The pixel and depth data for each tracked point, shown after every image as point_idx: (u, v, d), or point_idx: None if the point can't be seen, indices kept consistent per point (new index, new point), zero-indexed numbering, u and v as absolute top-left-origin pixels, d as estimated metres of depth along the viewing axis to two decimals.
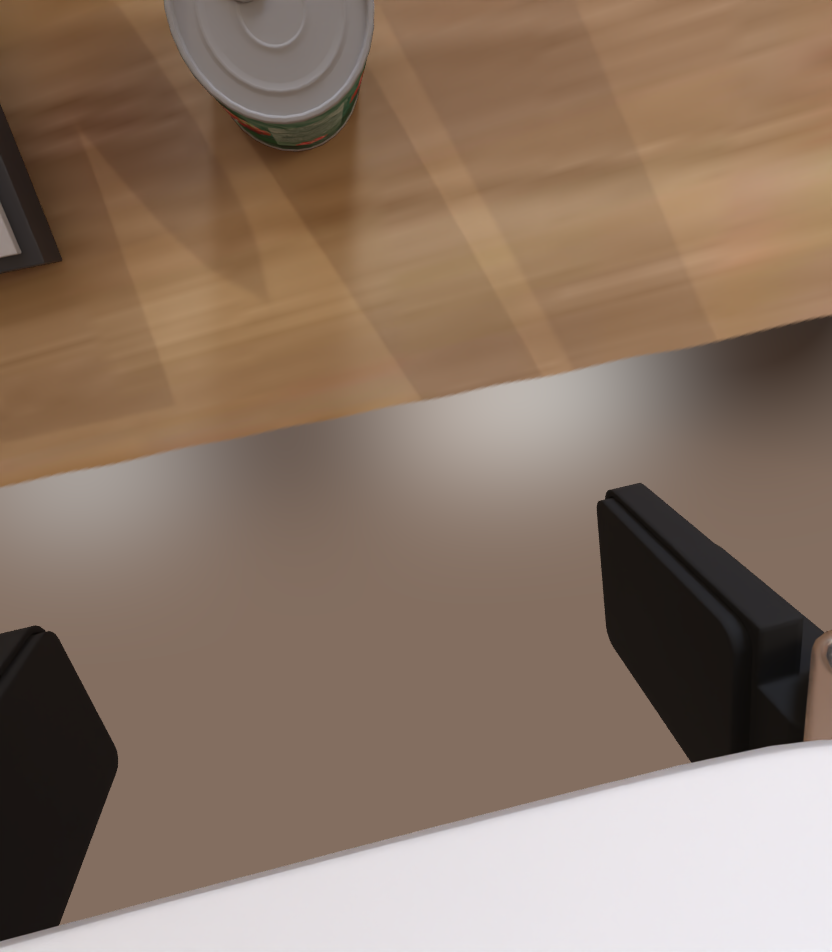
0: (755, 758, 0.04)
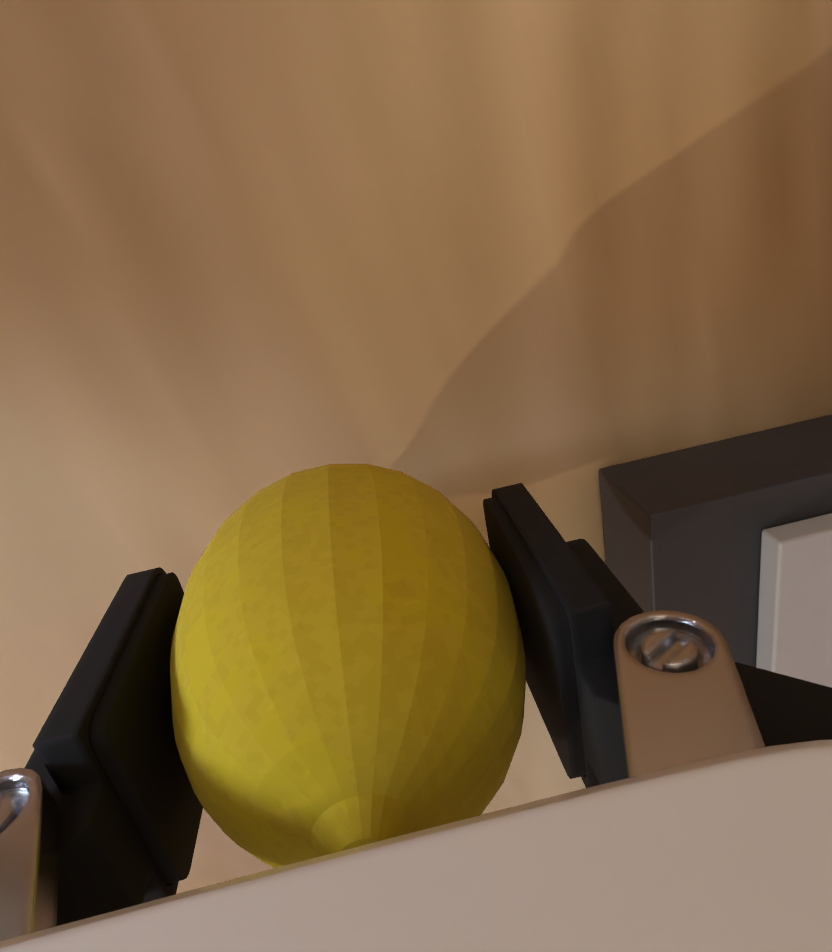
0: (754, 758, 0.04)
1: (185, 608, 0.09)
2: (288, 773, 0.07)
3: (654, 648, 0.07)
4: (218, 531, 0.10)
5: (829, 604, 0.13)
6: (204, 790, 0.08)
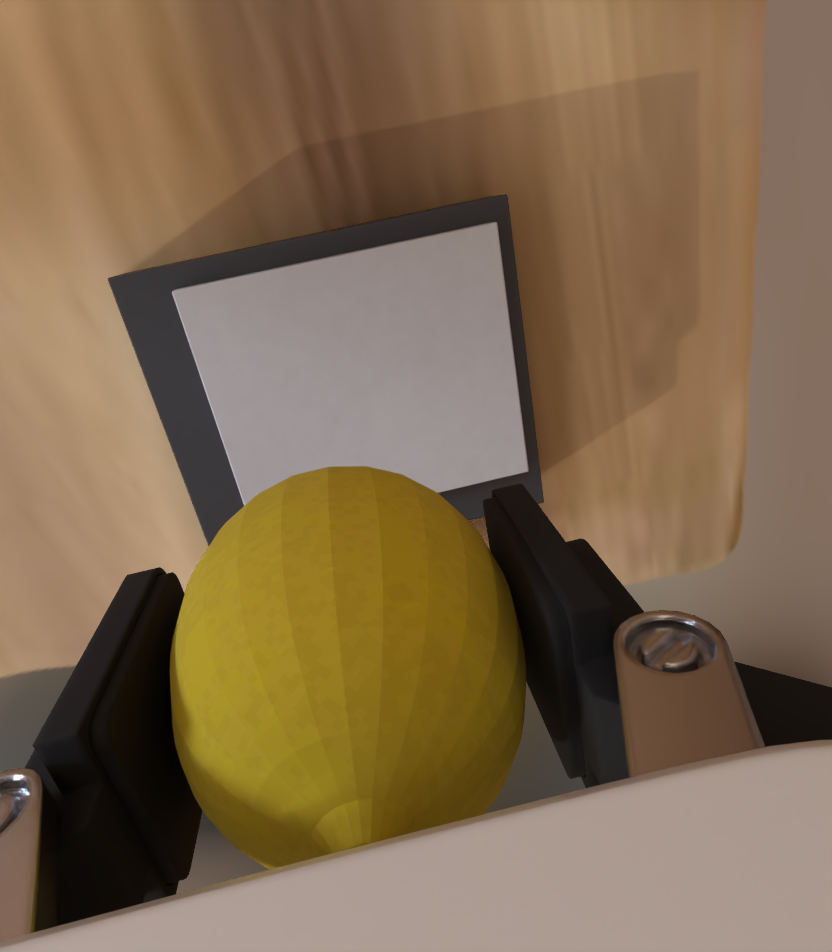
0: (755, 758, 0.04)
1: (185, 611, 0.09)
2: (287, 777, 0.07)
3: (654, 648, 0.07)
4: (218, 533, 0.10)
5: (215, 331, 0.25)
6: (204, 794, 0.08)
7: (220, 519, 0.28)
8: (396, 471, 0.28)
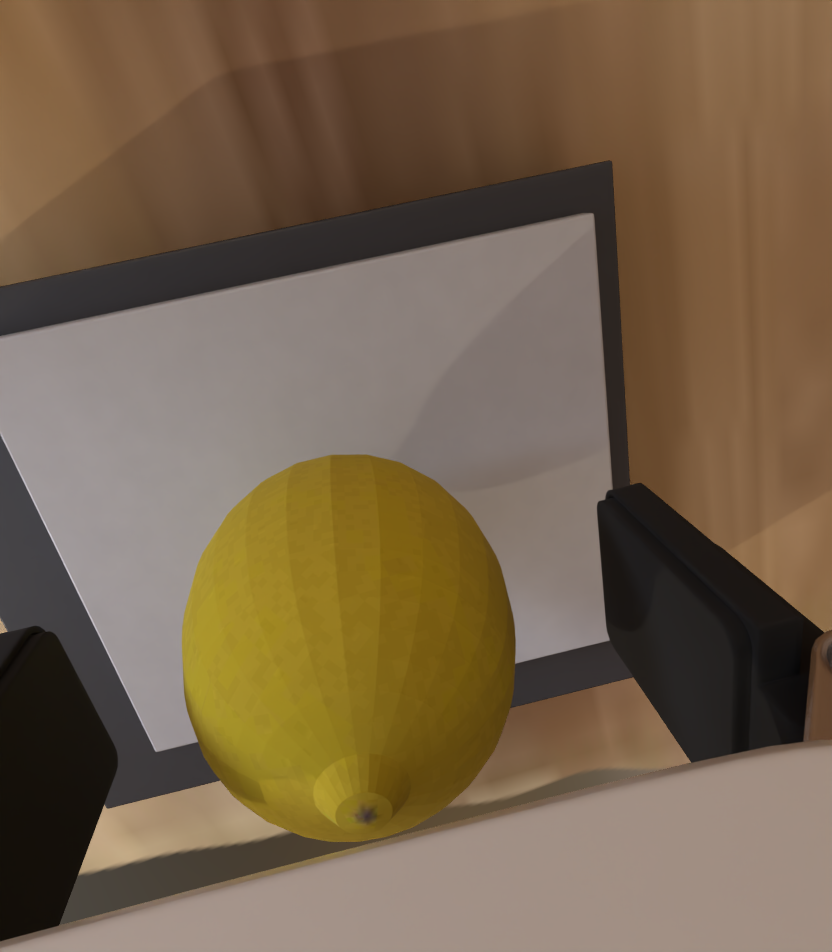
0: (754, 758, 0.04)
1: (196, 586, 0.09)
2: (292, 733, 0.07)
3: None
4: (226, 516, 0.10)
5: (54, 420, 0.13)
6: (214, 752, 0.08)
7: None
8: None
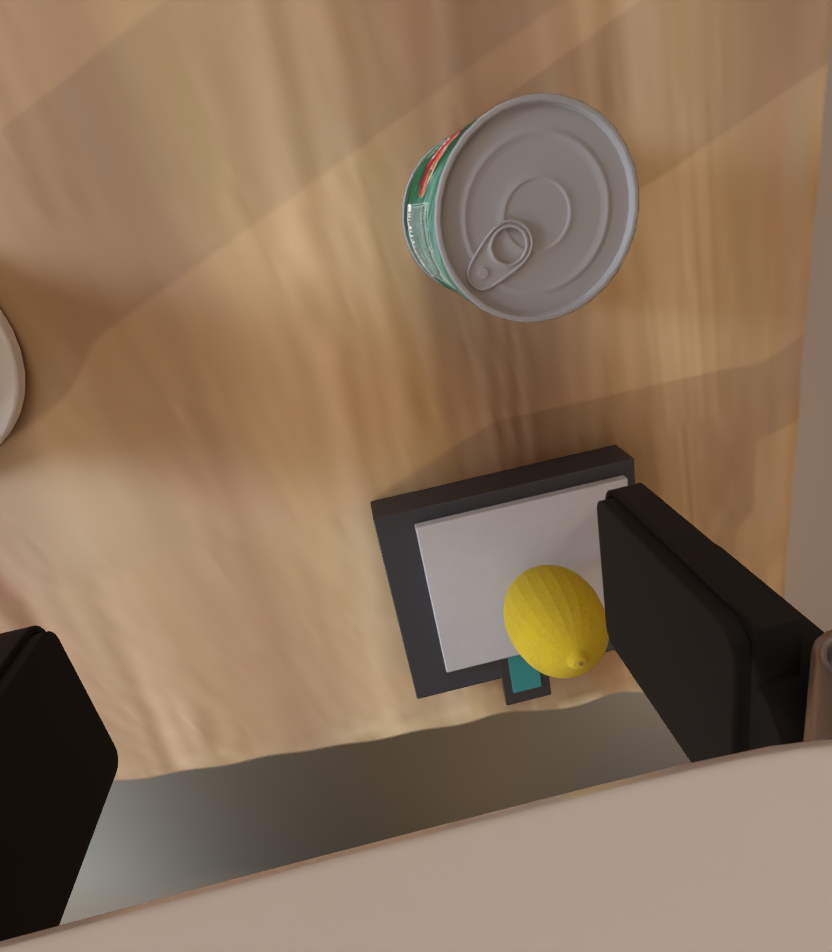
0: (755, 758, 0.04)
1: (520, 609, 0.34)
2: (562, 645, 0.32)
3: None
4: (519, 587, 0.35)
5: (440, 549, 0.37)
6: (536, 652, 0.32)
7: (422, 660, 0.41)
8: None
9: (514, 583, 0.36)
